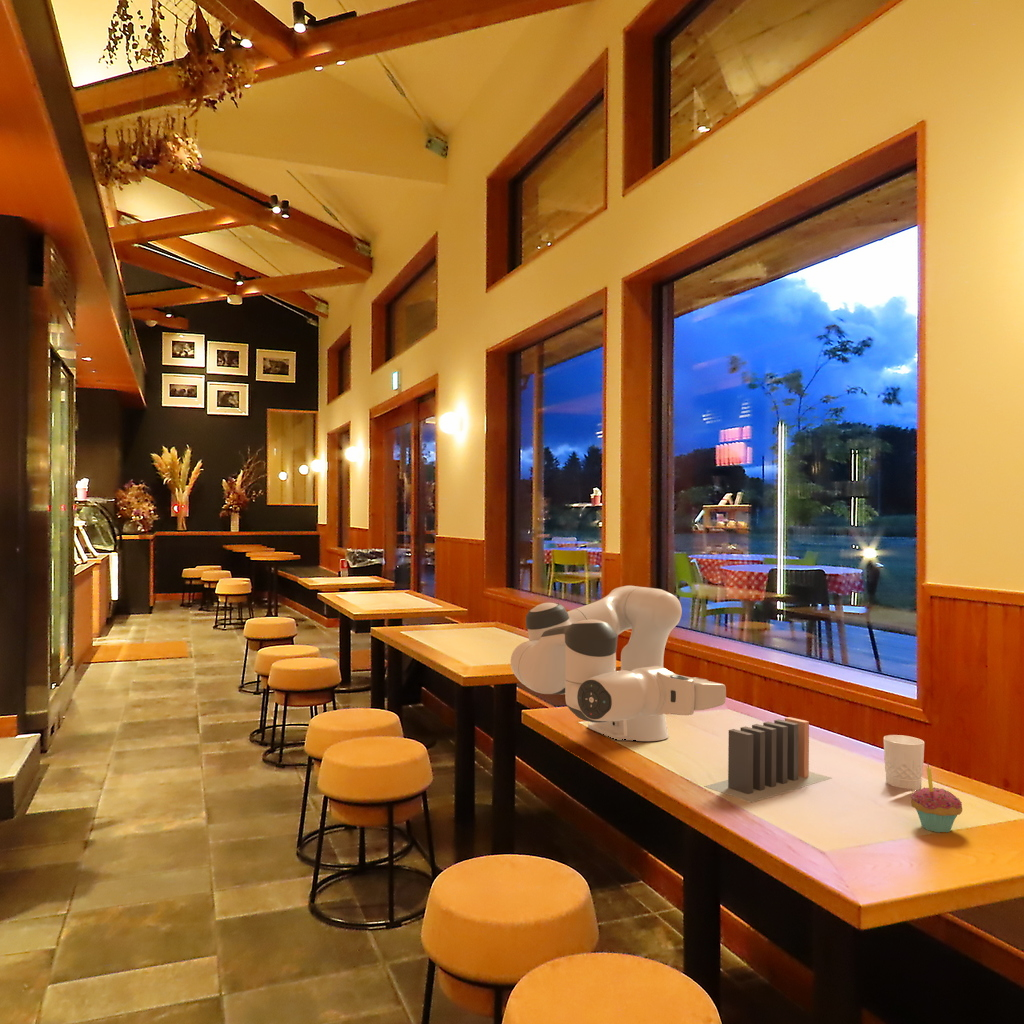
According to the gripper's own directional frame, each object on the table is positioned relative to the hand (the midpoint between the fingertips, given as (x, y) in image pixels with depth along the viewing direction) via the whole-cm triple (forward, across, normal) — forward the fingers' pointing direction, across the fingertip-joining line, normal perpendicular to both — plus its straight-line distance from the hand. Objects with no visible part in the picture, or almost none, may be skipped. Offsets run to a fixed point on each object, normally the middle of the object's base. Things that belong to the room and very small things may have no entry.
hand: (702, 682), depth 161 cm
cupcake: (+26, +33, -24) cm, 49 cm away
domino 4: (+24, 0, -23) cm, 33 cm away
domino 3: (+20, 0, -23) cm, 31 cm away
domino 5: (+28, 0, -23) cm, 36 cm away
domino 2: (+16, 0, -23) cm, 28 cm away
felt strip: (+22, 0, -24) cm, 32 cm away
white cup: (+45, +17, -24) cm, 54 cm away
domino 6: (+32, 0, -23) cm, 39 cm away
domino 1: (+12, 0, -23) cm, 26 cm away
